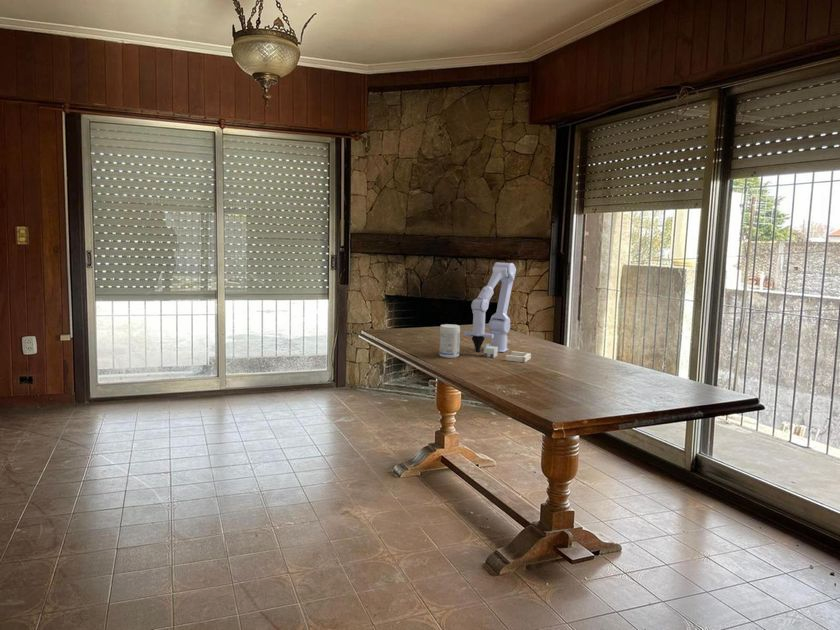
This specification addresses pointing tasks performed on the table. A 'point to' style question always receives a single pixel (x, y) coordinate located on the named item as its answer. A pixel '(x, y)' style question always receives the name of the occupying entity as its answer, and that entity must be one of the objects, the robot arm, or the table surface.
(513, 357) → the bay
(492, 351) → the white box with knobs
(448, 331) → the supplement tub
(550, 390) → the table surface
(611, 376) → the table surface
